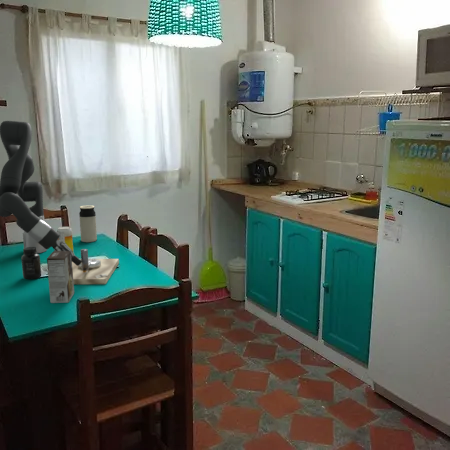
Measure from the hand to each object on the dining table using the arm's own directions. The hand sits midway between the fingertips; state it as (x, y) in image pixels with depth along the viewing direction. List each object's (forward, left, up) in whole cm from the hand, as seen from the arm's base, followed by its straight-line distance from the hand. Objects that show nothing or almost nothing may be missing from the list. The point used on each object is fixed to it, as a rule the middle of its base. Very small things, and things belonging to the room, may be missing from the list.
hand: (79, 263), depth 183 cm
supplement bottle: (-21, +6, -8) cm, 23 cm away
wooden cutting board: (0, +11, -7) cm, 13 cm away
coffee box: (-2, -17, -8) cm, 19 cm away
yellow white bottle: (-14, +29, -8) cm, 33 cm away
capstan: (+1, +8, -5) cm, 9 cm away
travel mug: (-13, +65, -8) cm, 66 cm away
